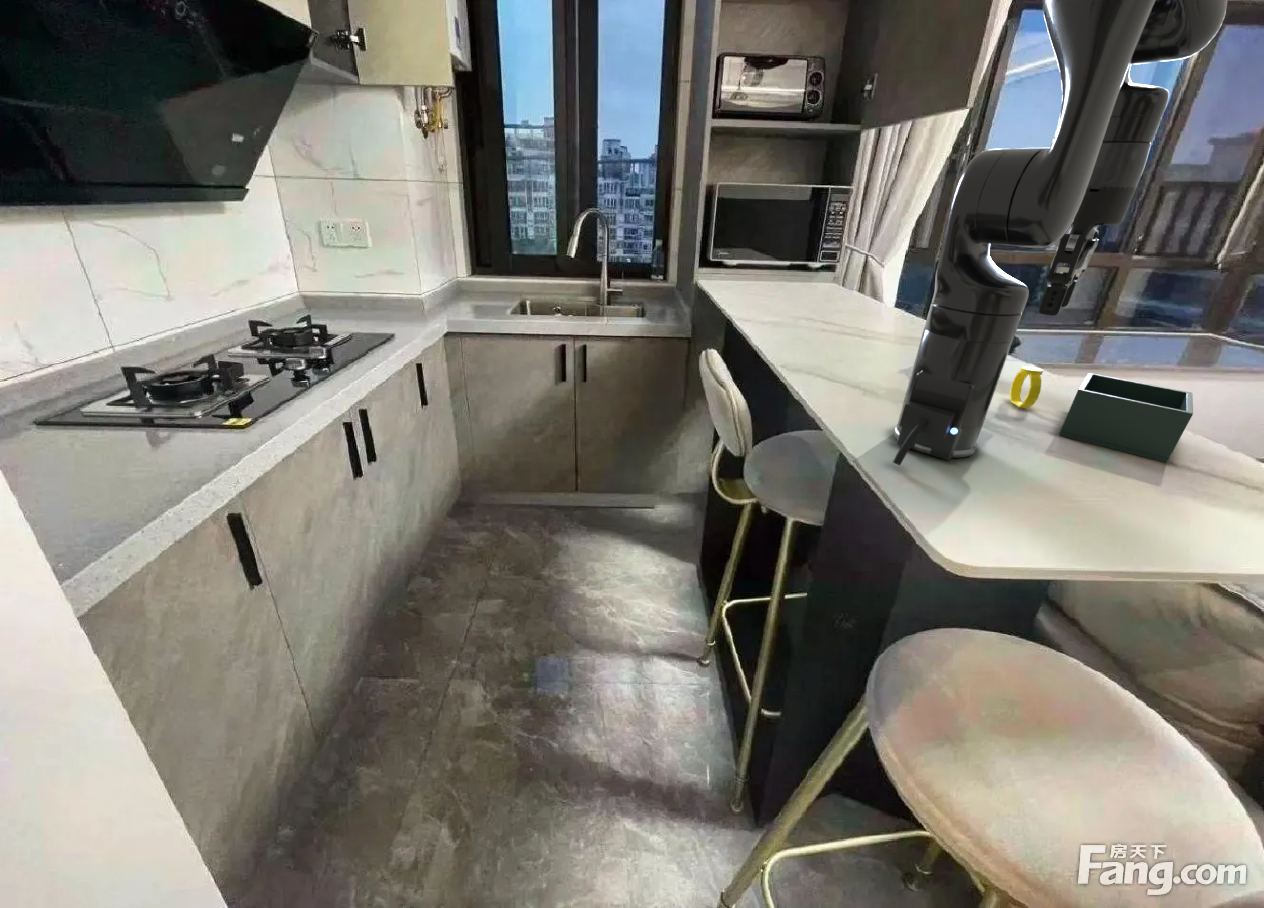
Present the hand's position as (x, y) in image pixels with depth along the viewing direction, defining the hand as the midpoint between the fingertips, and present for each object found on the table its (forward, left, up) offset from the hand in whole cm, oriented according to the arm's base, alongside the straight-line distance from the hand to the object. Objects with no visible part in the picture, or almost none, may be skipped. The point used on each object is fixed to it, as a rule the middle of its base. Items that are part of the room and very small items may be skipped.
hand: (1052, 310), depth 78 cm
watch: (0, 0, -15) cm, 15 cm away
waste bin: (-4, -12, -15) cm, 19 cm away
